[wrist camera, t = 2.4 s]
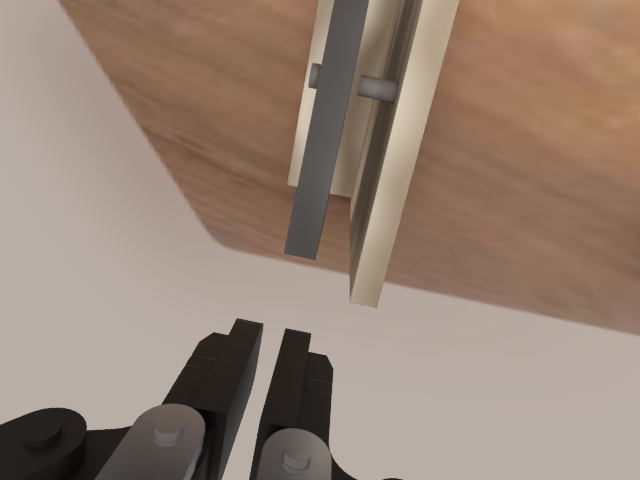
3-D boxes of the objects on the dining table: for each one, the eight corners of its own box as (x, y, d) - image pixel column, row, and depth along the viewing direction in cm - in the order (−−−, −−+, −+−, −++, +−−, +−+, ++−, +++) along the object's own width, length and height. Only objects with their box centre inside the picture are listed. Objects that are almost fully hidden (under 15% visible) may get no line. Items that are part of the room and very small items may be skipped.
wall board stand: (452, -18, 41) (606, -186, 16) (394, 203, 48) (439, 320, 23) (327, -44, 41) (291, -250, 16) (289, 181, 48) (224, 276, 23)
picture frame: (366, 12, 34) (393, -120, 20) (320, 236, 35) (315, 259, 21) (340, 7, 34) (348, -129, 20) (295, 231, 35) (274, 251, 21)
